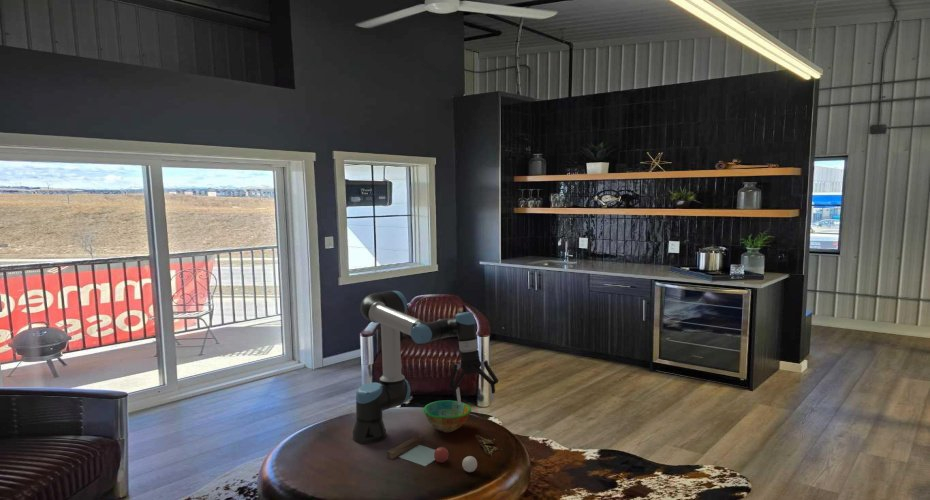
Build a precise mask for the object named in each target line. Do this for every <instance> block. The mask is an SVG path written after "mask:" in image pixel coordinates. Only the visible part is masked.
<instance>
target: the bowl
mask: <svg viewBox="0 0 930 500" xmlns="http://www.w3.org/2000/svg"><path fill="white" fill-rule="evenodd" d="M422 411H423V413H424V415H425V416H426V418H427V420H428V422H429V424H430V425H431V426H432V427H433V428H434V429H436V430H438V431H440V432H442V431H443V432H442V433H452V432H454V431H456V430H458V429H459V428H461V427H462V426H464V424H465V423H466V421H467V420H468V417H469V416H470V413H471V411H472V408H471V406H470V405H469V404H467V403H464V402H462V401H461V404H460V405H458V400H450V399H449V400H448V399H447V400H436V401H433V402H430V403H428V404H426V405H425V406H424V407H423V409H422Z"/></svg>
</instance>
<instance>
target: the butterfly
mask: <svg viewBox="0 0 930 500" xmlns="http://www.w3.org/2000/svg"><path fill="white" fill-rule="evenodd" d="M475 437H476V439H477V441H478V442H479V444H480V447H481V448H483V451H484V452H485V453H487V455H489V457H490V458H491V457H492V456H493V453H495V452H496V451H498V450H503V449H501V448H500V449H499V447H496V446H493V445H492V444H495V440H496V438H493V439H489V438H484V437H482V436H481V435H479V434H477V435H475Z"/></svg>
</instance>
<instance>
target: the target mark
mask: <svg viewBox="0 0 930 500" xmlns="http://www.w3.org/2000/svg"><path fill="white" fill-rule="evenodd" d="M435 450H436V449H434V448H430V447H427V446H425V445H421V444H418V445H416V446H414V447H413V448H411V449H409V450H407V451H406V452H404V453H402V454H400V455H399V456H398V458H400V459H402V460H406V461H409V462H412V463H414V464H416V465H419V466H423V467H427V466H429V464H431V463H433V462H434V461H436V460H435V458H434V452H435Z"/></svg>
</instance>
